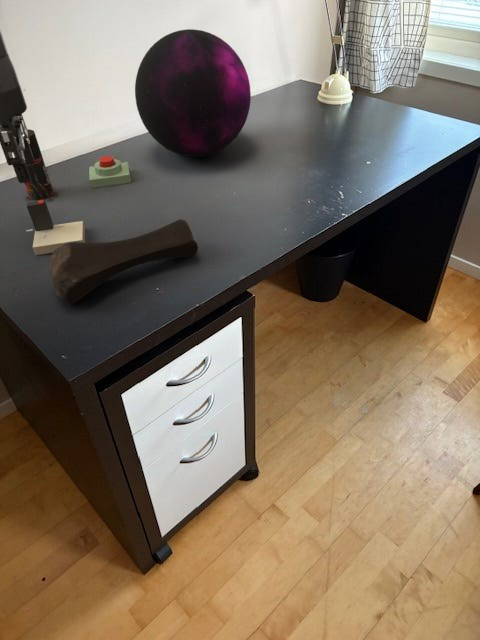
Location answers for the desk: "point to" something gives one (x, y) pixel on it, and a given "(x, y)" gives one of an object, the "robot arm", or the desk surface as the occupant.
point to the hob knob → (40, 215)
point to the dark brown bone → (114, 258)
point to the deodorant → (37, 173)
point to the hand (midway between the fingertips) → (27, 172)
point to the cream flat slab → (58, 237)
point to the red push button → (107, 161)
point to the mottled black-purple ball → (192, 93)
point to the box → (109, 174)
